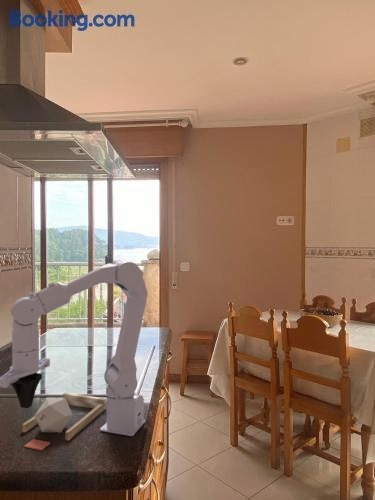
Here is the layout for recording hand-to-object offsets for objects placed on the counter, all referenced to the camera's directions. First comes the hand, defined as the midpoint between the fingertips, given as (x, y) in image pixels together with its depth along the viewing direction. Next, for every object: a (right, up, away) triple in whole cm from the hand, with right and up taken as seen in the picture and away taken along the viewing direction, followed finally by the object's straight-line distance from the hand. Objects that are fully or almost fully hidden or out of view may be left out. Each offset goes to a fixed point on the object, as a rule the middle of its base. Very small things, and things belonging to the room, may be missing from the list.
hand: (26, 406), depth 83 cm
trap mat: (+2, -10, +2) cm, 11 cm away
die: (+3, -11, +10) cm, 15 cm away
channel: (+4, -10, +14) cm, 18 cm away
